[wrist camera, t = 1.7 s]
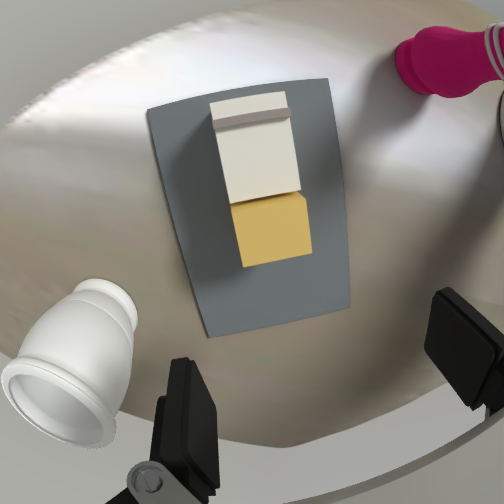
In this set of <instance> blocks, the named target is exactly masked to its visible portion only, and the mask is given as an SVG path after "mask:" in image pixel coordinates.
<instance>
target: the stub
mask: <svg viewBox="0 0 504 504" xmlns="http://www.w3.org/2000/svg"><path fill="white" fill-rule="evenodd" d="M231 212H232V217H233V222H234V227H235V231H236V236H237V241H238V246H239V250H240V255H241V259H242V264H243V267H248V266H253V265H258V264H263V263H267V262H272V261H277V260H282V259H287V258H291V257H296V256H301V255H306V254H310V253H312V246H311V237H310V228H309V220H308V211H307V204H306V199H305V198H304V197H303V196H302V195H301V194H300V193H298V192H297V191H292V192H286V193H281V194H276V195H270V196H265V197H260V198H255V199H250V200H245V201H240V202H235V203H231Z"/></svg>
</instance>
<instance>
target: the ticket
mask: <svg viewBox="0 0 504 504" xmlns="http://www.w3.org/2000/svg"><path fill="white" fill-rule="evenodd" d="M210 108H211V113H212V118H213V120H212V123H213V128H214V129H215V133H216V138H217V143H218V148H219V153H220V158H221V163H222V167H223V172H224V177H225V182H226V187H227V191H228V196H229V201H230V203H235V202H240V201H245V200H250V199H255V198H260V197H265V196H270V195H276V194H281V193H286V192H292V191H298V190H301V186H300V179H299V172H298V166H297V159H296V153H295V147H294V141H293V135H292V129H291V123H290V117H289V116H292V115H291V109H290V107H288V106H287V101H286V95H285V91H281V92H273V93H265V94H259V95H252V96H246V97H240V98H234V99H229V100H224V101H219V102H214V103H210Z"/></svg>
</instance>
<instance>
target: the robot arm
mask: <svg viewBox="0 0 504 504" xmlns="http://www.w3.org/2000/svg"><path fill="white" fill-rule="evenodd" d="M500 122H501V131H502V137H503V142H504V94H503V98H502V102H501V109H500ZM424 349H425V352H426V354H427V355H428V356H429V357H430V359H431V360H432V361H433V363H434V364H435V365H436V366H437V368H438V369H439V370H440V372H441V373H442V374H443V376H444V377H445V378H446V379H447V381H448V382H449V383H450V385H451V386H452V387H453V389H454V390H455V391H456V392H457V394H458V396H459V397H460V398H461V400H462V401H463V402H464V404H465V405H466V406H470V408H471V409H472V411H474V410H475V409H477V408H479V407H480V406H481V405H482V404H483V403H484V404H485V405H486V413H485V421H483V422H482V423H480V424H479V425H477V426H476V427H474V428H472V429H471V430H469V431H468V432H466V433H464V434H463V435H461V436H460V437H458V438H456V439H454V440H453V441H451V442H449V443H447V444H445V445H444V446H442V447H440V448H438V449H437V450H434V451H433V452H431V453H429V454H427V455H425V456H423V457H421V458H419V459H417V460H414V461H412V462H410V463H408V464H406V465H404V466H401V467H399V468H397V469H394V470H392V471H390V472H387V473H385V474H382V475H380V476H377V477H374V478H372V479H369V480H367V481H364V482H361V483H358V484H355V485H352V486H349V487H346V488H343V489H340V490H336V491H333V492H330V493H326V494H322V495H319V496H315V497H311V498H307V499H303V500H298V501H294V502H289V503H284V504H504V335H503V334H502V333H501V332H500V331H499V330H498V329H497V328H496V327H495V326H494V325H493V324H492V323H490V322H489V321H488V320H487V319H486V318H485V317H484V316H483V315H482V314H481V313H479V312H478V311H477V310H476V309H475V308H474V307H473V306H472V305H470V304H469V303H468V302H467V301H466V300H465V299H463V298H462V297H461V296H460V295H459V294H458V293H456V292H455V291H454V290H453V289H452V288H450V287H446V288H443V289H441V290H438V291H436V293H435V296H434V297H433V299H432V305H431V312H430V318H429V323H428V329H427V334H426V339H425V344H424ZM127 486H128V487H127V488H126V489H124V490H123V491H122V492H120V493H119V494H118V495H116V496H115V497H114V498H112V499H111V500H110V501H108V502H107V503H106V504H208V503H209V499H208V496H215V495H216V493H215V492H216V491H215V489H218V488H220V475H219V456H218V435H217V411H216V407H215V404H214V402H213V400H212V398H211V396H210V393H209V391H208V389H207V387H206V385H205V383H204V381H203V378H202V376H201V374H200V372H199V370H198V367H197V365H196V363H195V361H194V360H191V361H190V360H189V358H188V357H184V358H178V359H172V361H171V366H170V372H169V379H168V386H167V394H166V396H160V397H159V398H158V401H157V407H156V413H155V420H154V427H153V435H152V443H151V451H150V460H149V461H144V462H140V463H139V464H137V465H135V466H134V467H133V468H132V469H131V470H130V471H129V473H128V476H127Z"/></svg>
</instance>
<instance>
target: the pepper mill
mask: <svg viewBox="0 0 504 504" xmlns="http://www.w3.org/2000/svg"><path fill="white" fill-rule="evenodd" d="M395 60H396V66H397V69H398V72H399V74H400V76H401V78H402V80H403V81H404V82H405V83H406V84H407V86H409V87H410V88H411V89H412V90H414V91H415V92H417V93H420V94H437V95H439V96H442V97H446V98H457V97H462V96H465V95H467V94H469V93H471V92H473V91H474V90H475V89H476V88H478V87H479V86H480V85H482V84H483V83H486V82H489V81H493V80H503V81H504V22H498V23H497V24H494V23H493V24H490V25H488V26H487V28H486V30H485V31H483V32H465V31H460V30H457V29H453V28H449V27H442V26H433V27H429V28H425V29H423V30H421V31H419V32H418V33H417V34H416V36H415V37H414V38H411V39H409V40H406V41H404V42H402V43H401V44H400V45H399V46H398V48H397V51H396V56H395Z"/></svg>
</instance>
